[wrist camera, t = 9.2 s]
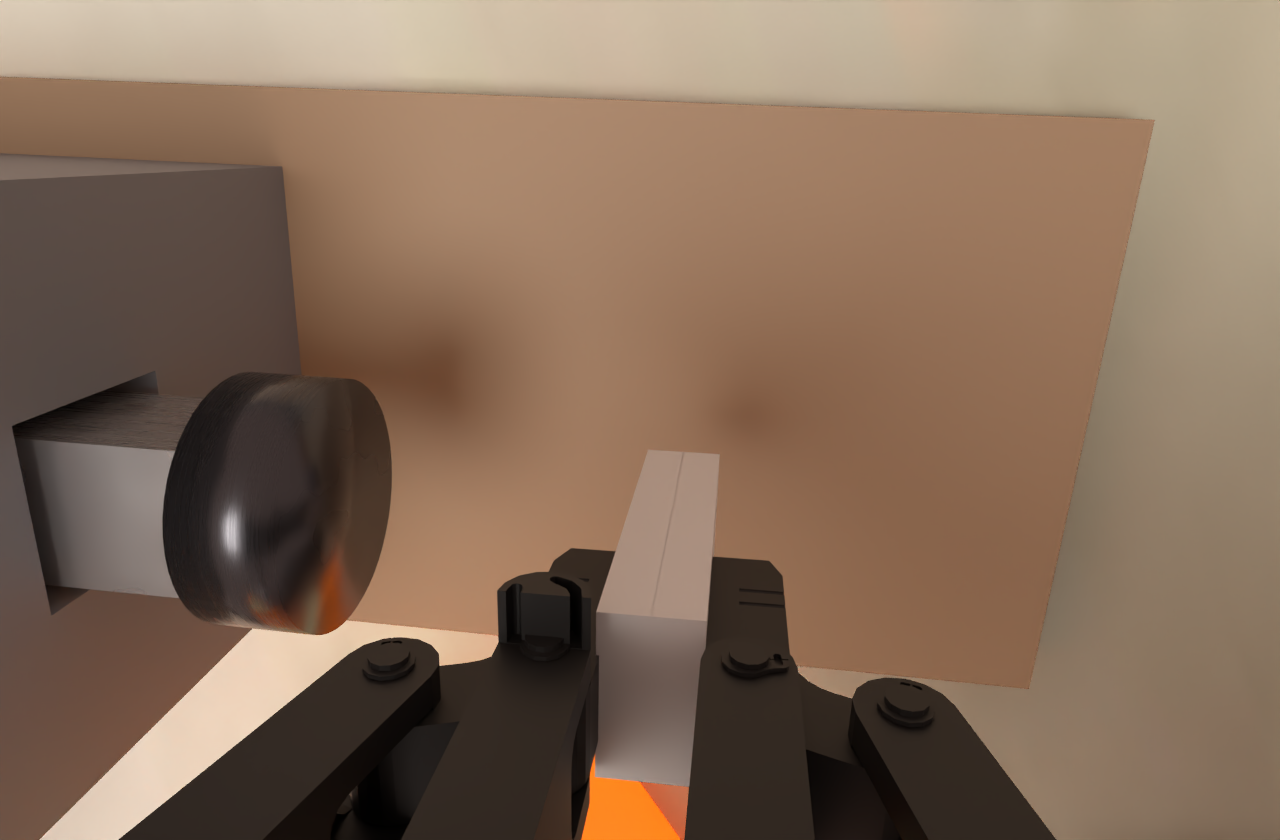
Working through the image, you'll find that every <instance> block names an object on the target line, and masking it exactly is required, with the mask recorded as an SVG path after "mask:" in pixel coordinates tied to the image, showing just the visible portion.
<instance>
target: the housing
mask: <svg viewBox="0 0 1280 840" xmlns="http://www.w3.org/2000/svg"><path fill="white" fill-rule="evenodd" d="M1154 121H1155V120H1143V119H1116V118H1090V117H1063V116H1036V115H1009V114H982V113H956V112H929V111H902V110H875V109H848V108H821V107H795V106H768V105H741V104H714V103H687V102H661V101H634V100H607V99H580V98H553V97H527V96H500V95H473V94H446V93H419V92H392V91H366V90H339V89H312V88H285V87H258V86H232V85H205V84H178V83H151V82H124V81H98V80H71V79H44V78H17V77H0V840H39V839H40V838H41V837H42V836H43V835H44V834H45V833H46V832H47V831H48V830H49V829H50V828H51V827H52V826H53V825H54V824H55V823H56V822H57V821H58V820H59V819H60V818H61V817H62V816H63V815H64V814H65V813H66V812H68V811H69V810H70V809H71V808H72V807H73V806H74V805H75V804H76V803H77V802H78V801H79V800H80V799H81V798H82V797H83V796H84V795H85V794H86V793H87V792H88V791H89V790H90V789H91V788H92V787H93V786H94V785H95V784H96V783H97V782H98V781H99V780H100V779H101V778H102V777H103V776H104V775H105V774H106V773H107V772H108V771H109V770H110V769H111V768H112V767H113V766H114V765H115V764H116V763H117V762H118V761H119V760H120V759H121V758H122V757H123V756H124V755H125V754H126V753H127V752H128V751H129V750H130V749H131V748H132V747H133V746H134V745H135V744H136V743H137V742H138V741H139V740H140V739H141V738H142V737H143V736H144V735H145V734H146V733H147V732H148V731H149V730H150V729H151V728H152V727H153V726H154V725H155V724H156V723H157V722H158V721H159V720H160V719H161V718H162V717H163V716H164V715H165V714H166V713H167V712H168V711H169V710H170V709H172V708H173V707H174V706H175V705H176V704H177V703H178V702H179V701H180V700H181V699H182V698H183V697H184V696H185V695H186V694H187V693H188V692H189V691H190V690H191V689H192V688H193V687H194V686H195V685H196V684H197V683H198V682H199V681H200V680H201V679H202V678H203V677H204V676H205V675H206V674H207V673H208V672H209V671H210V670H211V669H212V668H213V667H214V666H215V665H216V664H217V663H218V662H219V661H220V660H221V659H222V658H223V657H224V656H225V655H226V654H227V653H228V652H229V651H230V650H231V649H232V648H233V647H234V646H235V645H236V644H237V643H238V642H239V641H240V640H241V639H242V638H243V637H244V636H245V635H246V634H247V633H248V632H249V631H250V630H251V629H252V628H244V627H235V626H225V625H215V624H210V623H207V622H204V621H202V620H200V619H199V618H197V617H195V616H194V615H193V614H192V613H191V612H190V611H189V610H188V609H187V608H186V607H185V606H184V604H183V603H182V601H181V600H180V599H179V598H172V597H162V596H152V595H142V594H132V593H122V592H112V591H102V590H92V589H82V588H72V587H62V586H52V585H45V583H44V578H43V573H42V568H41V564H40V559H39V554H38V549H37V544H36V540H35V535H34V530H33V525H32V521H31V516H30V511H29V506H28V502H27V497H26V492H25V487H24V483H23V478H22V473H21V468H20V464H19V459H18V454H17V449H16V444H15V440H14V435H13V430H12V426H13V425H15V424H18V423H20V422H23V421H26V420H28V419H31V418H33V417H36V416H39V415H41V414H44V413H46V412H49V411H51V410H54V409H57V408H59V407H62V406H64V405H67V404H70V403H72V402H75V401H77V400H80V399H83V398H85V397H88V396H90V395H93V394H95V393H98V392H101V391H103V390H111V391H124V392H137V393H150V394H164V395H177V396H190V397H203V398H205V396H206V395H207V394H208V393H209V392H210V391H211V390H212V389H213V388H214V387H216V386H217V385H218V384H219V383H221V382H222V381H224V380H225V379H227V378H229V377H231V376H233V375H236V374H239V373H243V372H263V373H277V374H291V375H305V376H319V377H333V378H347V379H355V380H357V381H359V382H362V383H363V384H364V385H365V386H367V387H368V388H369V389H370V391H371V392H372V393H373V394H374V396H375V398H376V399H377V401H378V403H379V405H380V407H381V410H382V412H383V415H384V418H385V421H386V425H387V429H388V434H389V440H390V447H391V458H392V491H391V504H390V512H389V519H388V524H387V530H386V535H385V539H384V543H383V547H382V551H381V554H380V558H379V561H378V564H377V567H376V569H375V572H374V575H373V577H372V580H371V582H370V584H369V586H368V588H367V590H366V592H365V594H364V596H363V598H362V600H361V601H360V603H359V605H358V606H357V608H356V609H355V610H354V612H353V613H352V614H351V616H350V617H349V618H348V619H347V620H350V621H360V622H370V623H380V624H390V625H400V626H410V627H420V628H430V629H440V630H449V631H459V632H469V633H479V634H489V635H498V608H497V590H498V589H499V588H500V587H501V586H502V585H503V584H504V583H505V582H507V581H509V580H511V579H513V578H515V577H517V576H519V575H524V574H529V573H534V572H549V570H550V568H551V565H552V563H553V561H554V560H555V559H557V558H558V557H559V556H561V555H562V554H564V553H565V552H566V551H568V550H569V549H571V548H578V549H592V550H605V551H616V549H617V545H618V542H619V539H620V536H621V533H622V530H623V527H624V524H625V520H626V517H627V514H628V511H629V508H630V505H631V502H632V499H633V495H634V492H635V489H636V486H637V483H638V480H639V477H640V474H641V470H642V467H643V464H644V461H645V458H646V455H647V452H648V450H661V451H677V452H693V453H709V454H720V458H719V475H718V493H717V511H716V529H715V547H714V557H727V558H740V559H754V560H767V561H770V562H771V563H772V564H773V565H774V567H775V568H776V569H777V570H778V571H779V572H780V573H781V575H782V576H783V586H784V596H785V608H786V618H787V628H788V639H789V650H790V655H791V656H792V657H793V659H794V661H795V663H796V665H797V666H807V667H817V668H826V669H836V670H846V671H856V672H866V673H876V674H886V675H896V676H906V677H916V678H926V679H936V680H945V681H955V682H965V683H975V684H985V685H995V686H1005V687H1015V688H1025V689H1029V686H1030V682H1031V677H1032V673H1033V668H1034V664H1035V659H1036V655H1037V650H1038V646H1039V641H1040V636H1041V632H1042V627H1043V623H1044V618H1045V614H1046V609H1047V605H1048V600H1049V596H1050V591H1051V587H1052V582H1053V578H1054V573H1055V569H1056V564H1057V560H1058V555H1059V551H1060V546H1061V541H1062V537H1063V532H1064V528H1065V523H1066V519H1067V514H1068V510H1069V505H1070V501H1071V496H1072V492H1073V487H1074V483H1075V478H1076V474H1077V469H1078V465H1079V460H1080V456H1081V451H1082V446H1083V442H1084V437H1085V433H1086V428H1087V424H1088V419H1089V415H1090V410H1091V406H1092V401H1093V397H1094V392H1095V388H1096V383H1097V379H1098V374H1099V370H1100V365H1101V361H1102V356H1103V351H1104V347H1105V342H1106V338H1107V333H1108V329H1109V324H1110V320H1111V315H1112V311H1113V306H1114V302H1115V297H1116V293H1117V288H1118V284H1119V279H1120V275H1121V270H1122V266H1123V261H1124V256H1125V252H1126V247H1127V243H1128V238H1129V234H1130V229H1131V225H1132V220H1133V216H1134V211H1135V207H1136V202H1137V198H1138V193H1139V189H1140V184H1141V180H1142V175H1143V171H1144V166H1145V161H1146V157H1147V152H1148V148H1149V143H1150V139H1151V134H1152V130H1153V125H1154Z"/></svg>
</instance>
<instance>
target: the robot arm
mask: <svg viewBox="0 0 1280 840" xmlns="http://www.w3.org/2000/svg"><path fill="white" fill-rule="evenodd" d="M719 458H720V454H709V453H693V452H677V451H661V450H648V452H647V455H646V458H645V461H644V464H643V467H642V470H641V474H640V477H639V480H638V483H637V486H636V489H635V492H634V495H633V499H632V502H631V505H630V508H629V511H628V514H627V517H626V520H625V524H624V527H623V530H622V533H621V536H620V539H619V542H618V545H617V549H616V551H605V550H592V549H578V548H571V549H569V550H568V551H566V552H565V553H564V554H562V555H561V556H559V557H558V558H557V559H555V560H554V561H553V563H552V565H551V568H550V570H549V572H534V573H529V574H524V575H519V576H517V577H515V578H513V579H511V580H509V581H507V582H505V583H504V584H503V585H502V586H501V587H500V588H499V589H498V590H497V608H498V638H499V643H498V645H497V647H496V649H495V651H494V653H493V655H492V657H490V658H487V659H484V660H480V661H475V662H469V663H462V664H454V665H445V666H439V654H438V652H437V651H436V650H435V649H434V648H433V646H432V645H430V644H428V643H425V642H423V641H421V640H418V639H410V638H387V639H382V640H379V641H376V642H372V643H369V644H366V645H363V646H362V647H360V648H358V649H357V650H355V651H353V652H352V653H350V654H348V655H347V656H346V657H345V658H344V659H342V660H341V661H340V662H339V663H337V664H336V665H335V666H334V667H332V668H331V669H330V670H329V671H327V672H326V673H325V674H324V675H322V676H321V677H320V678H319V679H317V680H316V681H315V682H314V683H312V684H311V685H310V686H309V687H308V688H306V689H305V690H304V691H303V692H301V693H300V694H299V695H298V696H296V697H295V698H294V699H293V700H291V701H290V702H289V703H288V704H286V705H285V706H284V707H283V708H281V709H280V710H279V711H278V712H277V713H275V714H274V715H273V716H272V717H270V718H269V719H268V720H267V721H265V722H264V723H263V724H262V725H260V726H259V727H258V728H257V729H255V730H254V731H253V732H252V733H250V734H249V735H248V736H247V737H245V738H244V739H243V740H242V741H241V742H239V743H238V744H237V745H236V746H234V747H233V748H232V749H231V750H229V751H228V752H227V753H226V754H224V755H223V756H222V757H221V758H219V759H218V760H217V761H216V762H214V763H213V764H212V765H211V766H209V767H208V768H207V769H206V770H205V771H203V772H202V773H201V774H200V775H198V776H197V777H196V778H195V779H193V780H192V781H191V782H190V783H188V784H187V785H186V786H185V787H183V788H182V789H181V790H180V791H178V792H177V793H176V794H175V795H173V796H172V797H171V798H170V799H169V800H167V801H166V802H165V803H164V804H162V805H161V806H160V807H159V808H157V809H156V810H155V811H154V812H152V813H151V814H150V815H149V816H147V817H146V818H145V819H144V820H142V821H141V822H140V823H139V824H137V825H136V826H135V827H134V828H133V829H131V830H130V831H129V832H128V833H126V834H125V835H124V836H123V837H121V838H120V839H119V840H581V839H582V835H583V830H584V826H585V822H586V818H587V813H588V809H589V805H590V772H591V768H592V764H593V760H594V756H595V777H599V778H609V779H619V780H628V781H638V782H648V783H657V784H667V785H677V786H686V787H689V795H688V806H687V818H686V829H685V840H1056V839H1055V837H1054V836H1053V835H1052V833H1051V832H1050V831H1049V829H1048V828H1047V827H1046V825H1045V824H1044V823H1043V822H1042V820H1041V819H1040V818H1039V816H1038V815H1037V814H1036V812H1035V811H1034V810H1033V808H1032V807H1031V806H1030V804H1029V803H1028V802H1027V800H1026V799H1025V798H1024V796H1023V795H1022V794H1021V792H1020V791H1019V790H1018V788H1017V787H1016V786H1015V784H1014V783H1013V782H1012V780H1011V779H1010V778H1009V777H1008V775H1007V774H1006V773H1005V771H1004V770H1003V769H1002V767H1001V766H1000V765H999V763H998V762H997V761H996V759H995V758H994V757H993V755H992V754H991V753H990V751H989V750H988V749H987V747H986V746H985V745H984V743H983V742H982V741H981V739H980V738H979V737H978V736H977V734H976V733H975V732H974V730H973V729H972V728H971V726H970V725H969V724H968V722H967V721H966V720H965V718H964V717H963V716H962V714H961V713H960V712H959V710H958V709H957V708H956V706H955V705H954V704H953V703H951V702H950V701H949V700H948V699H947V698H946V697H945V696H944V695H943V694H941V693H940V692H938V691H936V690H934V689H932V688H930V687H928V686H926V685H924V684H921V683H918V682H915V681H911V680H907V679H898V678H881V679H876V680H870V681H867V682H866V683H864V684H863V685H861V686H860V687H858V688H857V689H856V691H855V694H854V696H853V698H852V699H851V698H847V697H844V696H841V695H837V694H834V693H832V692H829V691H826V690H824V689H821V688H819V687H817V686H816V685H814V684H812V683H810V682H808V681H807V680H806V679H805V678H804V677H802V676H801V675H800V674H799V673H798V669H797V666H796V663H795V661H794V659H793V657H792V656H791V655H790V650H789V639H788V628H787V618H786V608H785V596H784V586H783V576H782V575H781V573H780V572H779V571H778V570H777V569H776V568H775V567H774V565H773V564H772V563H771V562H770V561H767V560H754V559H740V558H727V557H714V547H715V529H716V511H717V493H718V475H719Z"/></svg>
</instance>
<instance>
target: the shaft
mask: <svg viewBox="0 0 1280 840" xmlns="http://www.w3.org/2000/svg"><path fill="white" fill-rule="evenodd" d="M12 430H13V435H14V440H15V444H16V449H17V454H18V459H19V464H20V468H21V473H22V478H23V483H24V487H25V492H26V497H27V502H28V506H29V511H30V516H31V521H32V525H33V530H34V535H35V540H36V544H37V549H38V554H39V559H40V564H41V568H42V573H43V578H44V583H45V585H52V586H62V587H72V588H82V589H92V590H102V591H112V592H122V593H132V594H142V595H152V596H162V597H172V598H179V599H180V600H181V601H182V603H183V604H184V606H185V607H186V608H187V609H188V610H189V611H190V612H191V613H192V614H193V615H194V616H195V617H197V618H199V619H200V620H202V621H204V622H207V623H210V624H215V625H225V626H235V627H244V628H254V629H264V630H273V631H283V632H293V633H303V634H312V635H323V634H327V633H329V632H331V631H333V630H335V629H337V628H338V627H339V626H341V625H342V624H343V623H344V622H345V621H346V620H347V619H348V618H349V617H350V616H351V614H352V613H353V612H354V610H355V609H356V608H357V606H358V605H359V603H360V601H361V600H362V598H363V596H364V594H365V592H366V590H367V588H368V586H369V584H370V582H371V580H372V577H373V575H374V572H375V569H376V567H377V564H378V561H379V558H380V554H381V551H382V547H383V543H384V539H385V535H386V530H387V524H388V519H389V512H390V504H391V491H392V458H391V447H390V440H389V434H388V429H387V425H386V421H385V418H384V415H383V412H382V410H381V407H380V405H379V403H378V401H377V399H376V398H375V396H374V394H373V393H372V392H371V391H370V389H369V388H368V387H367V386H365V385H364V384H363V383H362V382H359V381H357V380H355V379H347V378H333V377H319V376H305V375H291V374H277V373H263V372H243V373H239V374H236V375H233V376H231V377H229V378H227V379H225V380H224V381H222V382H221V383H219V384H218V385H217V386H216V387H214V388H213V389H212V390H211V391H210V392H209V393H208V394H207V395H206V396H205V398H203V397H190V396H177V395H164V394H150V393H137V392H124V391H111V390H103V391H101V392H98V393H95V394H93V395H90V396H88V397H85V398H83V399H80V400H77V401H75V402H72V403H70V404H67V405H64V406H62V407H59V408H57V409H54V410H51V411H49V412H46V413H44V414H41V415H39V416H36V417H33V418H31V419H28V420H26V421H23V422H20V423H18V424H15V425H13V426H12Z"/></svg>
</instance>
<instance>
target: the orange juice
mask: <svg viewBox="0 0 1280 840" xmlns="http://www.w3.org/2000/svg"><path fill="white" fill-rule="evenodd" d="M581 840H680V838H679V837H678V835H677V834H676V832H675V831H674V830H673V828H672V827H671V825H670V824H669V823H668V821H667V820H666V818H665V817H664V816H663V814H662V813H661V811H660V810H659V808H658V807H657V806H656V804H655V803H654V801H653V800H652V799H651V797H650V796H649V794H648V793H647V792H646V790H645V789H644V787H643V786H642V784H641V783H640V782H638V781H628V780H619V779H609V778H599V777H595V756H594V760H593V764H592V768H591V772H590V805H589V809H588V813H587V818H586V822H585V826H584V830H583V835H582V839H581Z"/></svg>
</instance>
